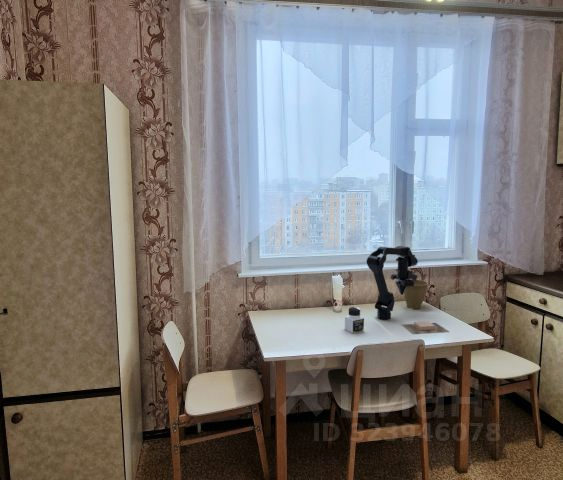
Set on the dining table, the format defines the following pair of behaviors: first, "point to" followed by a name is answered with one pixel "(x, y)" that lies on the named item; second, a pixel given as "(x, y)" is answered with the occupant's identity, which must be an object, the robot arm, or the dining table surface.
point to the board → (414, 330)
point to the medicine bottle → (354, 321)
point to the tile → (424, 325)
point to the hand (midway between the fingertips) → (401, 294)
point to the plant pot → (415, 294)
